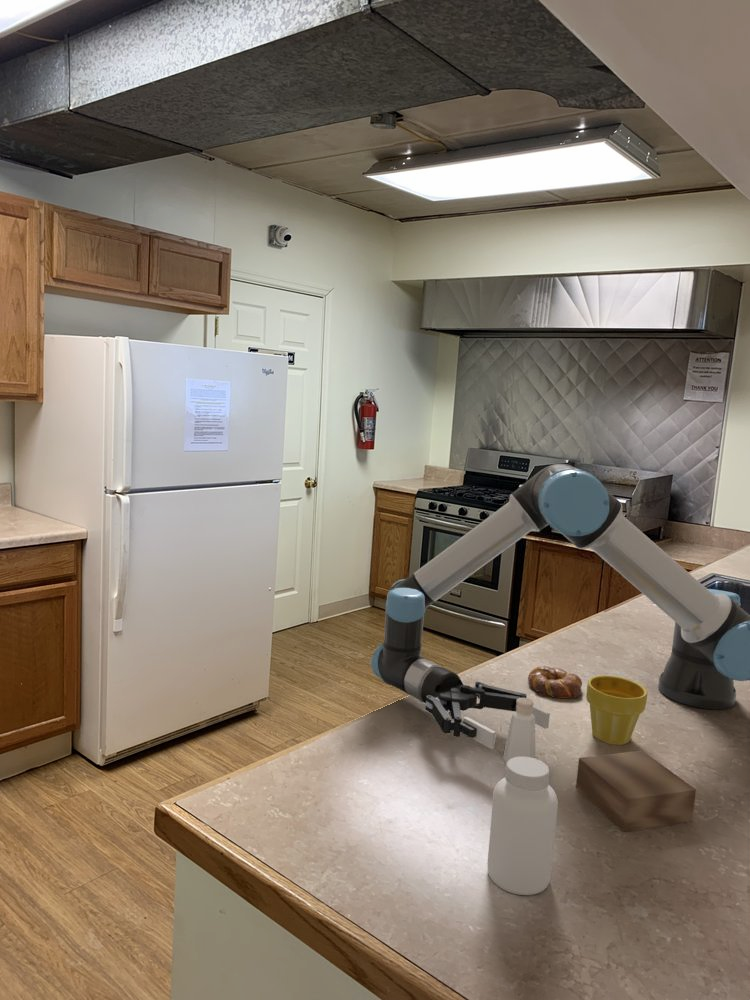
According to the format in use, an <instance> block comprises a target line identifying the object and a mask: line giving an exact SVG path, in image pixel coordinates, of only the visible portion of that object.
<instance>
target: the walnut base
mask: <svg viewBox="0 0 750 1000" xmlns="http://www.w3.org/2000/svg"><path fill="white" fill-rule="evenodd" d="M575 788H576V789H577V790H578V791H579V792H580V793H581V794H582V795H583V796H584V797H586V799H587V800H589V801H590V803H592V804H593V805H594V806H595V807H596V808H597V809H598V810H600V811H601V813H603V814H604V815H605V816H606V817H607V818H609V820H610V821H612V822H613V823H614V824H615V825H616V826H617V827H618V828H619V829H620V830H621V831H623V832H624V833H625V832H626V833H627V832H632V831H638V830H646V829H651V828H657V827H662V826H671V825H674V824H675V825H676V824H680V823H681V824H682V823H683V824H684V823H688V822H693V815H694V809H695V808H694V807H695V800H696V795H697V789H696V788H695V787H694V786H693V785H690V784H689V783H688V782H686V781H685V780H684V779H682V778H681V777H679V775H677V774H676V773H674V772H672V771H671V770H670V769H669V768H667V767H666V766H664V765H663V764H662V763H661V762H659V761H658V760H656V759H655V758H653V757H652V756H651V755H649V754H648V753H647V752H646V751H644V750H634V751H625V752H619V753H618V752H617V753H611V754H600V755H593V756H591V755H590V756H583V757H579V758H578V764H577V773H576V782H575Z"/></svg>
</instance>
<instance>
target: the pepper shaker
mask: <svg viewBox="0 0 750 1000" xmlns="http://www.w3.org/2000/svg"><path fill="white" fill-rule="evenodd" d="M516 702H517V705H516V711H513V712H512V714H511V718H510V722H509V727H508V732H507V738H506V741H505V747H504V753H503V757H502V758H503V759H502V760H503V762H504V763H505V765H506V763H507V762H508V761H509V760H510V759H512V758H514V757H531V758H535V759H537V758H536V757H537V756H536V753H537V752H536V748H537V747H536V724H535V717H534V715H533V714H532V711H533V705H534V701H533V700H532V699H530V698H528V697H526V698H518V699H517V701H516ZM534 706H535V705H534Z"/></svg>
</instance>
